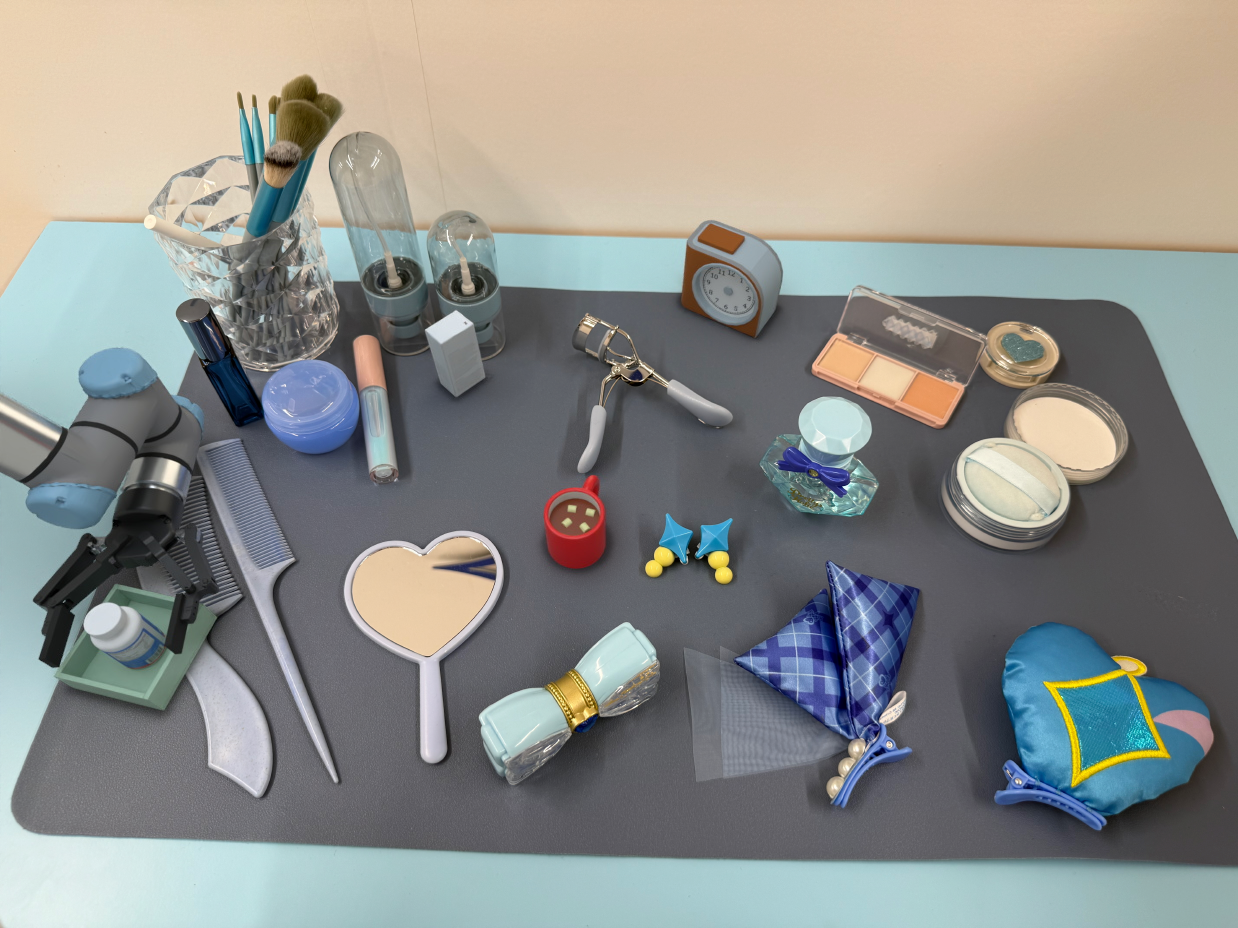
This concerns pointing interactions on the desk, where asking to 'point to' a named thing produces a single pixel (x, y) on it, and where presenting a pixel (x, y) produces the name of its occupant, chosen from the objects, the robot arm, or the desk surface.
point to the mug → (576, 525)
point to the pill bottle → (125, 635)
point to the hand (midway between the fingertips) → (111, 656)
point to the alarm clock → (731, 277)
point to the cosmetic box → (455, 353)
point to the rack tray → (136, 685)
